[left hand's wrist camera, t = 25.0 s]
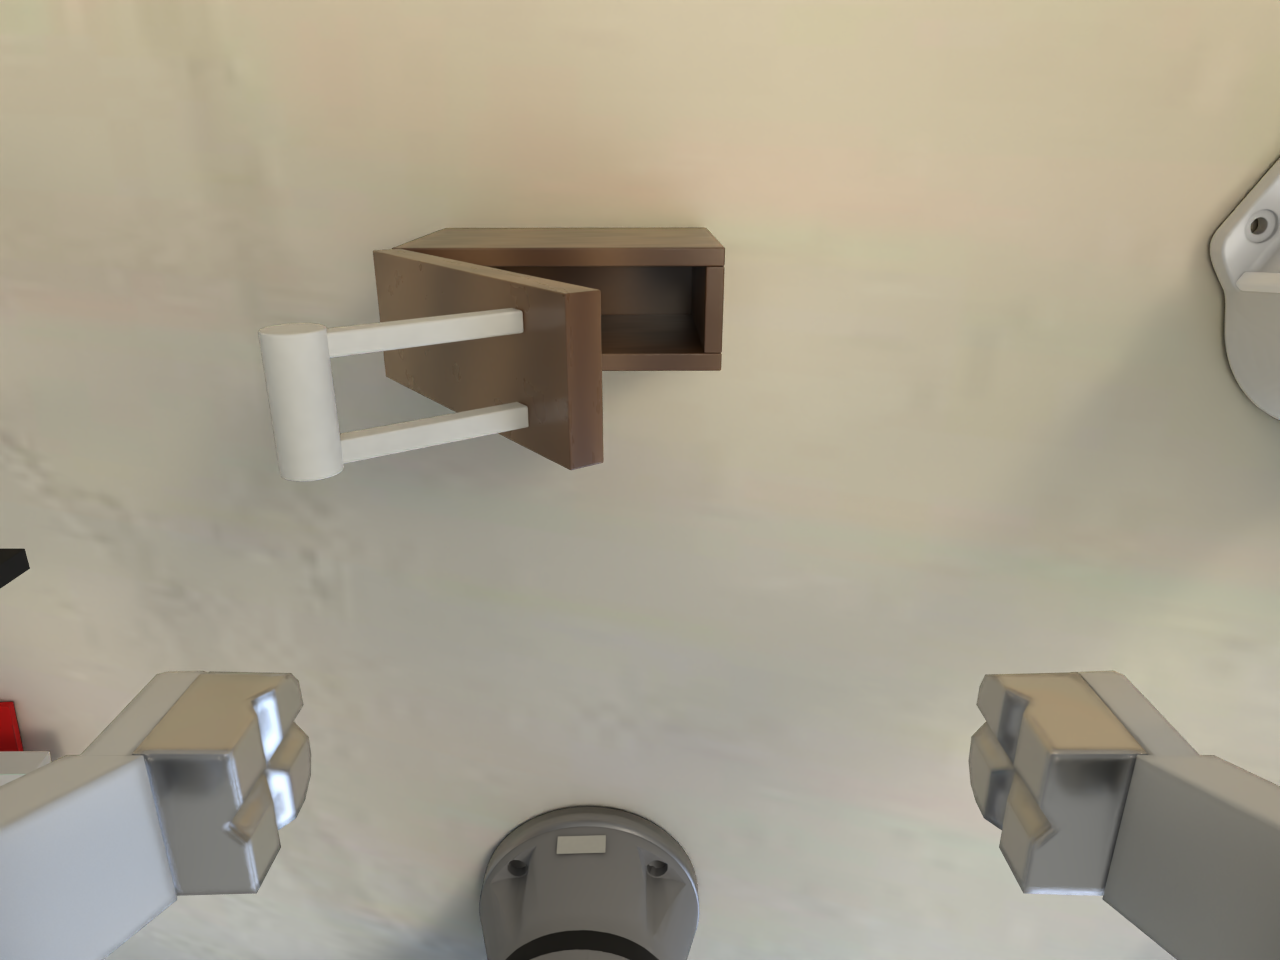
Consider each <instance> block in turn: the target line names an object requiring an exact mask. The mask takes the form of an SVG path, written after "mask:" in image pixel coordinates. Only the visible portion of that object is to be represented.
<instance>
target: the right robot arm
mask: <svg viewBox="0 0 1280 960" xmlns="http://www.w3.org/2000/svg"><path fill="white" fill-rule="evenodd" d="M28 569H30V567H29V563H28V560H27V556H26V552H25V549H0V588H2V587H3V586H5V585H6V584H8V583H9V582H10V581H12V580H13V579H15V578H16V577H18V576H19V575H21V574H22V573H24V572H25V571H27V570H28ZM479 911H480V920H481V924H482V930H483V936H484V941H485V947H486V953H487V958H488V960H687V957H688V954H689V951H690V948H691V945H692V941H693V938H694V935H695V932H696V930H697V925H698V920H699V900H698V887H697V880H696V875H695V872H694V868H693V866H692V864H691V861H690V860H689V858H688V856H687V854H686V853H685V851H684V850H683V849H682V847H681V846H680V845H679V844H678V843H677V842H676V841H675V839H674V838H672V837H671V836H670V835H669V834H668V833H667V832H665V831H664V830H663V829H661V828H660V827H658V826H657V825H655V824H653V823H652V822H650V821H648V820H646V819H644V818H641V817H639V816H636V815H634V814H631V813H627V812H624V811H620V810H615V809H610V808H602V807H575V808H566V809H562V810H557V811H553V812H550V813H546V814H544V815H541V816H538V817H536V818H534V819H532V820H530V821H528V822H526V823H524V824H523V825H521V826H520V827H518V828H517V829H515V830H514V831H513V832H511V833H510V834H509V835H508V836H507V837H506V838H505V839H504V840H503V841H502V842H501V844H500V845H499V846H498V847H497V849H496V850H495V852H494V853H493V855H492V857H491V859H490V861H489V863H488V866H487V869H486V873H485V877H484V882H483V886H482V891H481V895H480V904H479Z"/></svg>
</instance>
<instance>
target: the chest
mask: <svg viewBox="0 0 1280 960" xmlns="http://www.w3.org/2000/svg"><path fill="white" fill-rule="evenodd" d="M392 249H404V250H409V251H414V252H418V253H423V254H428V255H433V256H438V257H443V258H447V259H452V260H457V261H462V262H467V263H472V264H476V265H481V266H486V267H491V268H496V269H501V270H505V271H510V272H515V273H520V274H525V275H530V276H535V277H539V278H544V279H549V280H554V281H559V282H564V283H568V284H573V285H578V286H583V287H588V288H593V289H597V290H600V292H601V350H602V371H720V370H721V357H722V354H721V352H722V326H723V295H724V262H725V248H724V247H723V246H722V245H721V244H720V242H719V241H718V240H717V239H716V238H715V237H714V236H713V235H712V234H711V233H710V232H709V230H708V229H707V228H445V229H442V230H439V231H437V232H434V233H431V234H429V235H426V236H423V237H421V238H418V239H415V240H413V241H410V242H407V243H405V244H402V245H399V246H397V247H394V248H392Z"/></svg>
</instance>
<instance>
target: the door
mask: <svg viewBox="0 0 1280 960" xmlns="http://www.w3.org/2000/svg"><path fill="white" fill-rule="evenodd" d="M373 257H374V266H375V276H376V285H377V295H378V304H379V314H380V323H371V324H362V325H353V326H344V327H335V328H326V327H325V326H324V325H321V324H315V323H290V324H280V325H273V326H268V327H265V328H262V329H260V330H259V331H258V335H259V342H260V348H261V355H262V361H263V368H264V374H265V381H266V387H267V393H268V400H269V406H270V413H271V419H272V426H273V432H274V439H275V445H276V452H277V458H278V464H279V471H280V475H281V477H282V478H284V479H286V480H290V481H301V482H303V481H316V480H322V479H326V478H329V477H332V476H335V475H337V474H339V473H340V472H342V470H343V468H344V464H345V463H350V462H355V461H360V460H365V459H370V458H375V457H380V456H385V455H390V454H395V453H400V452H405V451H411V450H416V449H421V448H426V447H431V446H436V445H441V444H446V443H451V442H456V441H461V440H466V439H471V438H476V437H481V436H486V435H491V434H496V433H498V434H500V435H502V436H504V437H506V438H508V439H510V440H512V441H514V442H516V443H518V444H520V445H522V446H524V447H526V448H528V449H530V450H532V451H534V452H536V453H538V454H540V455H542V456H544V457H546V458H547V459H549V460H551V461H553V462H555V463H557V464H559V465H561V466H563V467H565V468H567V469H569V470H574V469H578V468H582V467H586V466H591V465H595V464H599V463H603V409H602V350H601V292H600V290H597V289H593V288H588V287H583V286H578V285H573V284H568V283H564V282H559V281H554V280H549V279H544V278H539V277H535V276H530V275H525V274H520V273H515V272H510V271H505V270H501V269H496V268H491V267H486V266H481V265H476V264H472V263H467V262H462V261H457V260H452V259H447V258H443V257H438V256H433V255H428V254H423V253H418V252H414V251H409V250H404V249H389V250H374V251H373ZM380 351H383V352H384V361H385V371H386V377H388V378H390V379H392V380H394V381H396V382H398V383H400V384H402V385H404V386H406V387H408V388H410V389H412V390H414V391H416V392H418V393H420V394H422V395H423V396H425V397H427V398H429V399H431V400H433V401H435V402H437V403H439V404H441V405H443V406H445V407H447V408H449V409H451V410H453V411H455V412H457V413H452V414H447V415H441V416H436V417H430V418H425V419H419V420H413V421H408V422H402V423H397V424H391V425H386V426H380V427H374V428H369V429H363V430H358V431H352V432H347V433H341V434H340V431H339V424H338V416H337V408H336V400H335V392H334V384H333V376H332V369H331V361H330V358H334V357H342V356H350V355H357V354H365V353H373V352H380Z"/></svg>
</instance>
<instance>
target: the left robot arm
mask: <svg viewBox="0 0 1280 960" xmlns="http://www.w3.org/2000/svg"><path fill="white" fill-rule="evenodd" d="M1255 219H1258V227H1257V229H1256V230H1255V231H1254V232H1251V224H1252V222H1253V221H1254V220H1255ZM1210 257H1211V261H1212V264H1213V267H1214V270H1215V272H1216V275H1217V277H1218V279H1219V282H1220V284H1221V286H1222V288H1223V290H1224V295H1225V329H1224V332H1225V346H1226V352H1227V357H1228V361H1229V364H1230V367H1231V370H1232V372H1233V375H1234V377H1235V379H1236V381H1237V383H1238V384H1239V386H1240V388H1241V389H1242V391H1243V392H1244V393H1245V394H1246V396H1247V397H1248V398H1249V399H1250V400H1251V401H1252V402H1253V403H1254V404H1255V405H1256V406H1257V407H1258V408H1260V409H1261V410H1262V411H1264V412H1265V413H1267V414H1268V415H1270V416H1272V417H1274V418H1276V419H1278V420H1280V158H1279V159H1278V160H1277V161H1276V162H1275V164H1274V165H1273V166H1272V167H1271V168H1270V169H1269V171H1268V172H1267V173H1266V174H1265V175H1264V176H1263V177H1262V179H1261V180H1260V181H1259V182H1258V183H1257V184H1256V185H1255V187H1254V188H1253V189H1252V190H1251V191H1250V192H1249V194H1248V195H1247V196H1246V197H1245V198H1244V199H1243V200H1242V202H1241V203H1240V204H1239V205H1238V206H1237V207H1236V208H1235V210H1234V211H1233V212H1232V213H1231V214H1230V215H1229V217H1228V218H1227V219H1226V220H1225V221H1224V222H1223V223H1222V225H1221V226H1220V227H1219V228H1218V229H1217V231H1216V232H1215V234H1214V235H1213V237H1212V240H1211V243H1210ZM302 706H303V700H302V695H301V690H300V685H299V681H298V680H297V679H296V678H295V676H294V675H293V674H292V673H259V672H205V671H168V672H164V673H160V674H157V675H156V676H155V677H154V678H153V679H152V680H151V681H150V682H149V683H148V684H147V685H146V686H145V687H144V688H143V689H142V690H141V691H140V693H139V694H138V695H137V696H136V697H135V698H134V699H133V700H132V701H131V702H130V703H129V704H128V705H127V706H126V707H125V708H124V709H123V711H122V712H121V713H120V714H119V715H118V716H117V717H116V718H115V719H114V720H113V721H112V722H111V723H110V724H109V725H108V726H107V727H106V728H105V730H104V731H103V732H102V733H101V734H100V735H99V736H98V737H97V738H96V739H95V740H94V741H93V742H92V743H91V744H90V745H89V746H88V748H87V749H86V750H85V751H84V752H83V753H82V754H81V755H66V756H64V757H61V758H59V759H57V760H55V761H53V762H51V763H49V764H47V765H44V766H42V767H40V768H38V769H36V770H34V771H32V772H30V773H27V774H25V775H23V776H21V777H19V778H17V779H15V780H13V781H10V782H8V783H6V784H4V785H2V786H0V960H103V959H105V958H106V957H107V956H108V955H110V954H111V953H112V952H113V951H115V950H116V949H117V948H118V947H119V946H121V945H122V944H123V943H124V942H126V941H127V940H128V939H129V938H131V937H132V936H133V935H134V934H136V933H137V932H138V931H139V930H140V929H142V928H143V927H144V926H145V925H147V924H148V923H149V922H150V921H152V920H153V919H154V918H155V917H156V916H158V915H159V914H160V913H161V912H163V911H164V910H165V909H166V908H168V907H169V906H170V905H171V904H173V903H174V902H175V901H176V900H177V896H178V895H212V894H247V893H257V891H258V890H259V888H260V886H261V884H262V882H263V880H264V878H265V876H266V874H267V873H268V871H269V869H270V867H271V865H272V863H273V861H274V859H275V857H276V855H277V854H278V852H279V850H280V848H281V845H280V839H279V833H278V830H279V829H281V828H282V827H284V826H285V825H287V824H288V823H290V822H291V821H293V820H294V819H295V818H296V817H297V815H298V813H299V811H300V809H301V807H302V805H303V803H304V801H305V798H306V793H307V789H308V785H309V780H310V776H311V751H310V744H309V737H308V736H307V735H306V734H305V733H304V732H303V731H302V729H301V728H300V727H299V726H298V725H297V724H296V723H295V722H294V720H295V718H296V716H297V715H298V713H299V711H300V710H301V708H302ZM977 706H978V708H979V710H980V711H981V713H982V715H983V716H984V718H985V720H986V722H985V723H984V724H983V725H982V726H981V727H980V728H979V729H978V731H977V732H976V733H975V734H974V735H973V736H972V737H971V745H970V753H969V771H970V782H971V787H972V790H973V794H974V797H975V800H976V803H977V805H978V807H979V809H980V811H981V813H982V815H983V817H984V818H985V819H986V820H988V821H989V822H990V823H992V824H993V825H995V826H996V827H998V828H999V829H1001V830H1002V833H1001V839H1000V845H999V848H1000V850H1001V852H1002V854H1003V855H1004V857H1005V859H1006V861H1007V863H1008V865H1009V867H1010V869H1011V871H1012V872H1013V874H1014V876H1015V878H1016V880H1017V882H1018V884H1019V886H1020V887H1021V889H1022V891H1023V893H1031V894H1066V895H1102V896H1103V900H1104V901H1105V902H1107V903H1108V904H1109V905H1110V906H1112V907H1113V908H1114V909H1115V910H1117V911H1118V912H1119V913H1120V914H1121V915H1123V916H1124V917H1125V918H1126V919H1128V920H1129V921H1130V922H1131V923H1133V924H1134V925H1135V926H1136V927H1137V928H1139V929H1140V930H1141V931H1142V932H1144V933H1145V934H1146V935H1147V936H1149V937H1150V938H1151V939H1152V940H1153V941H1155V942H1156V943H1157V944H1158V945H1160V946H1161V947H1162V948H1163V949H1165V950H1166V951H1167V952H1168V953H1169V954H1171V955H1172V956H1173V957H1174V958H1176V959H1177V960H1280V786H1278V785H1276V784H1274V783H1272V782H1269V781H1267V780H1265V779H1263V778H1261V777H1259V776H1257V775H1255V774H1252V773H1250V772H1248V771H1246V770H1244V769H1242V768H1240V767H1238V766H1236V765H1233V764H1231V763H1229V762H1227V761H1225V760H1223V759H1221V758H1219V757H1216V756H1214V755H1199V754H1198V753H1197V752H1196V751H1195V750H1194V749H1193V747H1192V746H1191V745H1190V744H1189V743H1188V742H1187V741H1186V740H1185V739H1184V738H1183V737H1182V736H1181V735H1180V734H1179V733H1178V732H1177V731H1176V729H1175V728H1174V727H1173V726H1172V725H1171V724H1170V723H1169V722H1168V721H1167V720H1166V719H1165V718H1164V717H1163V716H1162V715H1161V714H1160V713H1159V711H1158V710H1157V709H1156V708H1155V707H1154V706H1153V705H1152V704H1151V703H1150V702H1149V701H1148V700H1147V699H1146V698H1145V697H1144V696H1143V694H1142V693H1141V692H1140V691H1139V690H1138V689H1137V688H1136V687H1135V686H1134V685H1133V684H1132V683H1131V682H1130V681H1129V680H1128V679H1127V678H1126V676H1125V675H1122V674H1120V673H1118V672H1115V671H1089V672H1071V673H1031V674H989V675H985V676H984V678H983V681H982V683H981V685H980V688H979V694H978V699H977Z"/></svg>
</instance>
